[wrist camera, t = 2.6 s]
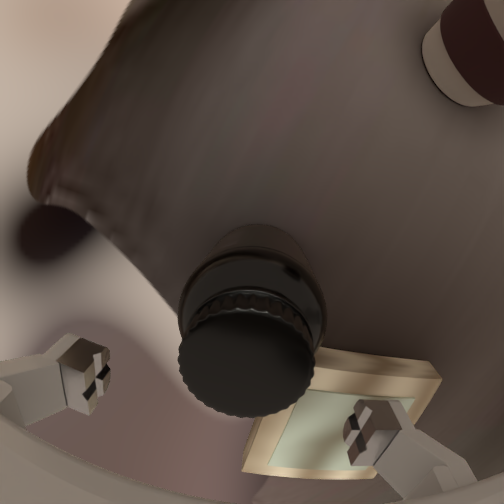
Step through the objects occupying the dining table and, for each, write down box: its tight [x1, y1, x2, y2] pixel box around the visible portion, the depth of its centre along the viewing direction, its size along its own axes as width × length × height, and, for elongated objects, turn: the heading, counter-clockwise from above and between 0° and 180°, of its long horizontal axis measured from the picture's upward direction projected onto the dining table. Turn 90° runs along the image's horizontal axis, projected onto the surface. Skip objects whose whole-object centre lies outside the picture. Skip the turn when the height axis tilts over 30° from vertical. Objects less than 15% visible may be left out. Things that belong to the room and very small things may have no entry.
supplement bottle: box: [178, 224, 327, 418], centre depth 16 cm, size 7×7×12 cm
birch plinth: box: [242, 347, 443, 479], centre depth 23 cm, size 14×14×3 cm
